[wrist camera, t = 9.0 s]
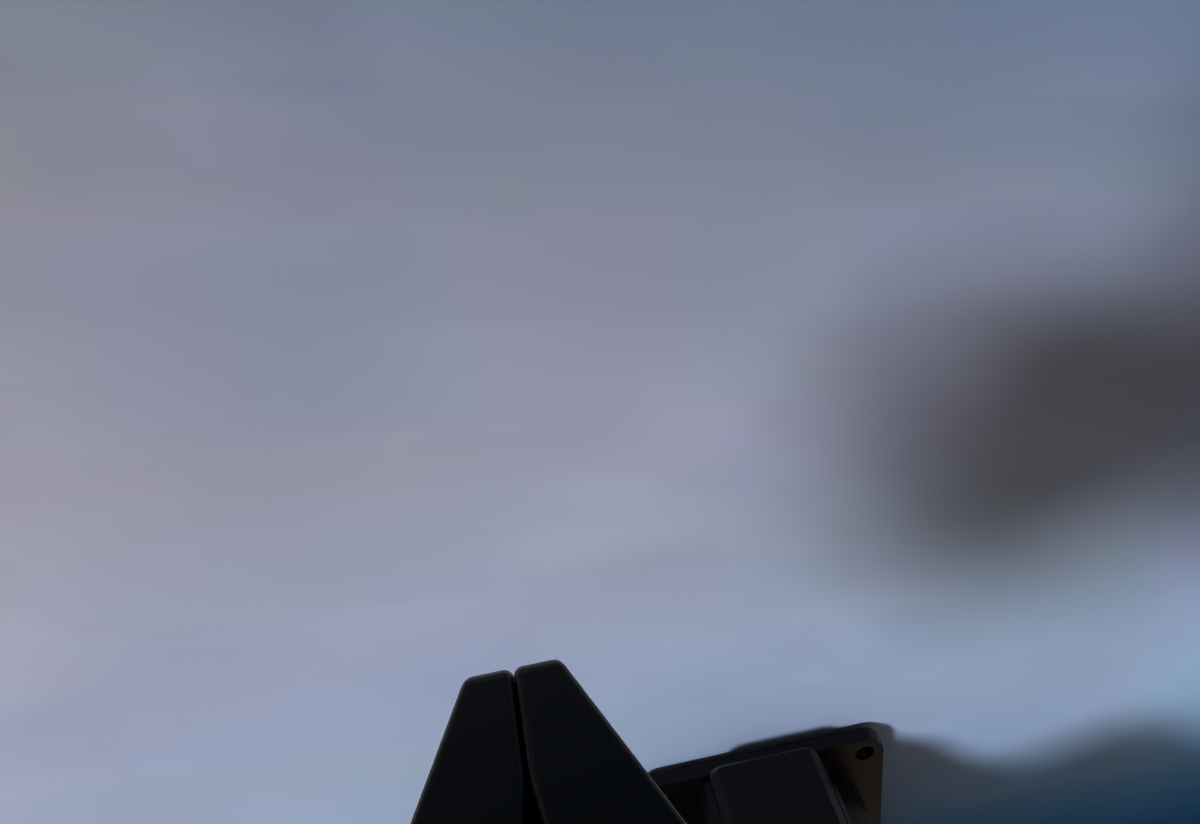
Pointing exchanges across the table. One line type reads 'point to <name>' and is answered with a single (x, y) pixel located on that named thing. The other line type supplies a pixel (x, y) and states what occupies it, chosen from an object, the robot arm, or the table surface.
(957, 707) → the table surface
